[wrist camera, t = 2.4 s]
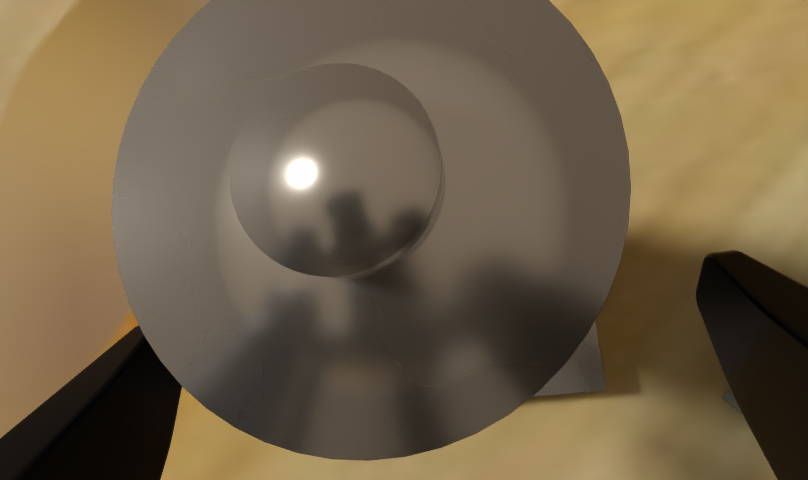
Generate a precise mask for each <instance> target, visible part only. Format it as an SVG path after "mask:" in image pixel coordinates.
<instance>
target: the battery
mask: <svg viewBox="0 0 808 480" xmlns="http://www.w3.org/2000/svg"><path fill="white" fill-rule="evenodd" d="M630 194H631V182H630V167H629V153H628V147H627V142H626V138H625V133H624V128H623V124H622V119H621V115H620V112H619V109H618V107H617V104H616V101H615V98H614V96H613V93H612V90H611V88H610V85H609V82H608V80H607V78H606V77H605V75H604V73H603V71H602V69H601V67H600V65H599V64H598V62H597V60H596V58H595V56H594V54H593V52H592V51H591V49H590V48H589V47H588V45H587V44H586V43H585V41H584V40H583V38H582V37H581V36H580V34H579V33H578V32H577V30H576V29H575V28H574V26H573V25H572V24H571V22H570V21H569V20H568V19H567V18H566V17H565V16H564V15H563V14H562V13H561V12H560V11H559V10H558V9H557V8H556V7H555V6H554V5H553V4H552V3H551V2H550V1H549V0H211V1H210V2H209V3H207V4H206V5H205V6H204V7H203V8H202V9H200V10H199V11H198V12H197V13H196V14H195V15H194V16H193V17H192V18H191V19H190V20H189V21H188V22H187V24H186V25H185V26H184V27H183V28H182V29H181V30H180V31H179V32H178V33H177V34H176V36H175V37H174V38H173V39H172V41H171V42H170V43H169V45H168V46H167V48H166V49H165V50H164V52H163V53H162V54H161V56H160V57H159V58H158V60H157V61H156V63H155V64H154V66H153V68H152V70H151V71H150V73H149V75H148V77H147V78H146V80H145V82H144V84H143V85H142V87H141V89H140V91H139V93H138V96H137V98H136V100H135V103H134V105H133V107H132V110H131V112H130V115H129V117H128V119H127V123H126V126H125V129H124V133H123V136H122V139H121V143H120V146H119V150H118V156H117V161H116V167H115V173H114V179H113V194H112V226H113V240H114V248H115V253H116V258H117V263H118V269H119V274H120V277H121V280H122V283H123V286H124V290H125V292H126V296H127V299H128V302H129V305H130V307H131V309H132V311H133V313H134V315H135V318H136V320H137V322H138V324H139V326H140V328H141V330H142V332H143V334H144V336H145V337H146V339H147V341H148V342H149V344H150V345H151V347H152V348H153V350H154V351H155V353H156V355H157V356H158V358H159V359H160V361H161V362H162V363H163V364H164V366H165V367H166V368H167V369H168V370H169V371H170V373H171V374H172V375H173V376H174V377H175V379H176V380H177V381H178V382H179V383H180V384H181V386H182V387H183V388H185V389H186V390H187V391H188V392H189V393H190V394H191V395H192V396H193V397H195V398H196V399H197V400H198V401H199V402H200V403H201V404H202V405H203V406H205V407H206V408H207V409H208V410H210V411H211V412H213V413H214V414H216V415H217V416H219V417H220V418H222V419H223V420H225V421H226V422H228V423H229V424H231V425H232V426H233V427H235V428H237V429H239V430H241V431H243V432H245V433H247V434H249V435H251V436H253V437H256V438H258V439H260V440H262V441H264V442H266V443H269V444H272V445H275V446H278V447H281V448H284V449H287V450H290V451H293V452H296V453H301V454H307V455H312V456H318V457H323V458H329V459H341V460H368V461H369V460H378V459H388V458H398V457H406V456H410V455H414V454H418V453H422V452H426V451H430V450H434V449H438V448H442V447H444V446H447V445H449V444H452V443H454V442H456V441H459V440H461V439H464V438H466V437H469V436H471V435H474V434H476V433H478V432H480V431H481V430H483V429H485V428H487V427H488V426H490V425H492V424H494V423H495V422H497V421H499V420H500V419H502V418H504V417H506V416H507V415H509V414H510V413H512V412H513V411H514V410H515V409H517V408H518V407H519V406H521V405H522V404H523V403H524V402H526V401H527V400H528V399H530V398H531V397H532V396H533V395H535V394H536V393H537V392H539V391H540V390H541V389H542V388H543V387H544V385H545V384H546V383H547V382H548V381H549V380H550V379H551V378H552V377H553V376H554V375H555V374H556V373H557V372H558V371H559V370H560V369H561V368H562V367H563V366H564V365H565V364H566V363H567V361H568V360H569V359H570V357H571V356H572V354H573V353H574V352H575V350H576V349H577V348H578V346H579V345H580V344H581V342H582V341H583V339H584V338H585V337H586V335H587V334H588V333H589V331H590V329H591V327H592V325H593V323H594V321H595V320H596V318H597V316H598V314H599V312H600V310H601V308H602V307H603V305H604V303H605V301H606V299H607V297H608V294H609V291H610V289H611V286H612V283H613V280H614V278H615V275H616V272H617V270H618V267H619V264H620V261H621V256H622V252H623V247H624V242H625V238H626V233H627V229H628V221H629V207H630Z"/></svg>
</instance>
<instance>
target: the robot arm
mask: <svg viewBox="0 0 808 480" xmlns="http://www.w3.org/2000/svg"><path fill="white" fill-rule="evenodd" d="M696 301H697V305H698V308H699V311H700V313H701V316H702V318H703V321H704V323H705V326H706V328H707V331H708V334H709V336H710V339H711V341H712V344H713V346H714V349H715V351H716V354H717V357H718V359H719V362H720V364H721V367H722V369H723V372H724V374H725V377H726V379H727V382H728V384H729V387H730V389H731V391H732V394H733V396H734V398H735V400H736V402H737V404H738V406H739V408H740V410H741V412H742V414H743V416H744V417H745V419H746V421H747V423H748V425H749V427H750V429H751V431H752V432H753V434H754V436H755V438H756V440H757V442H758V444H759V446H760V447H761V449H762V451H763V453H764V455H765V457H766V459H767V461H768V462H769V464H770V466H771V468H772V470H773V472H774V474H775V476H776V477H777V479H778V480H808V287H806V286H804V285H803V284H801V283H799V282H797V281H795V280H793V279H791V278H789V277H787V276H786V275H784V274H782V273H780V272H778V271H776V270H774V269H772V268H770V267H769V266H767V265H765V264H763V263H761V262H759V261H757V260H755V259H754V258H752V257H750V256H748V255H746V254H744V253H742V252H740V251H734V250H731V251H723V252H715V253H710V254H708V255H707V256H706V257H705V258H704V261H703V264H702V269H701V273H700V277H699V281H698V285H697V290H696ZM181 388H182V386H181V384H180V383H179V382H178V381H177V380H176V379H175V377H174V376H173V375H172V374H171V373H170V371H169V370H168V369H167V368H166V367H165V366H164V364H163V363H162V362H161V361H160V359H159V358H158V356H157V355H156V353H155V351H154V350H153V348H152V347H151V345H150V344H149V342H148V341H147V339H146V337H145V336H144V334H143V332H142V330H141V328H140V326H137V327H135V328H134V329H132V330H131V331H130V332H129V333H128V334H126V335H125V336H124V337H123V338H121V339H120V340H119V341H118V342H117V343H115V344H114V345H113V346H112V347H111V348H109V349H108V350H107V351H106V352H105V353H103V354H102V355H101V356H100V357H98V358H97V359H96V360H95V361H94V362H92V363H91V364H90V365H89V366H88V367H86V368H85V369H84V370H83V371H82V372H81V373H79V374H78V375H77V376H75V377H74V378H73V379H72V380H71V381H69V382H68V383H67V384H66V385H65V386H63V387H62V388H61V389H60V390H58V391H57V392H56V393H55V394H54V395H52V396H51V397H50V398H49V399H48V400H46V401H45V402H44V403H43V404H42V405H40V406H39V407H38V408H37V409H35V410H34V411H33V412H32V413H31V414H30V415H28V416H27V417H26V418H25V419H23V420H22V421H21V422H20V423H19V424H17V425H16V426H15V427H14V428H12V429H11V430H10V431H9V432H8V433H6V434H5V435H4V436H3V437H2V438H0V480H160V479H161V475H162V472H163V469H164V465H165V462H166V459H167V455H168V451H169V448H170V444H171V439H172V435H173V430H174V425H175V420H176V414H177V409H178V404H179V399H180V394H181Z"/></svg>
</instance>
